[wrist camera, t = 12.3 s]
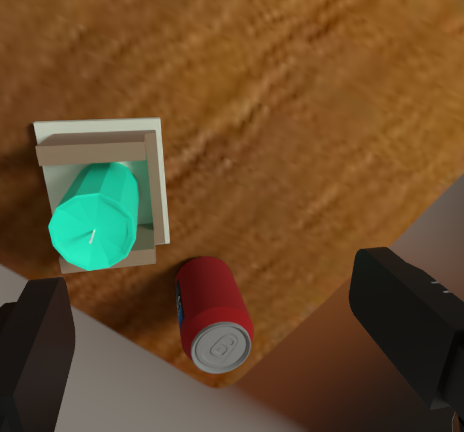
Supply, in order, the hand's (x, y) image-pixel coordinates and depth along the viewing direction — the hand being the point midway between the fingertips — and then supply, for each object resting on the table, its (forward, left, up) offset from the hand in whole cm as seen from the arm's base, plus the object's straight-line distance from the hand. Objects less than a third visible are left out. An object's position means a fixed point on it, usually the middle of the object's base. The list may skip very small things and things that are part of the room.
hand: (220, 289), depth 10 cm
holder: (+5, -6, -28) cm, 30 cm away
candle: (+5, -6, -28) cm, 29 cm away
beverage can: (+17, +3, -29) cm, 34 cm away
